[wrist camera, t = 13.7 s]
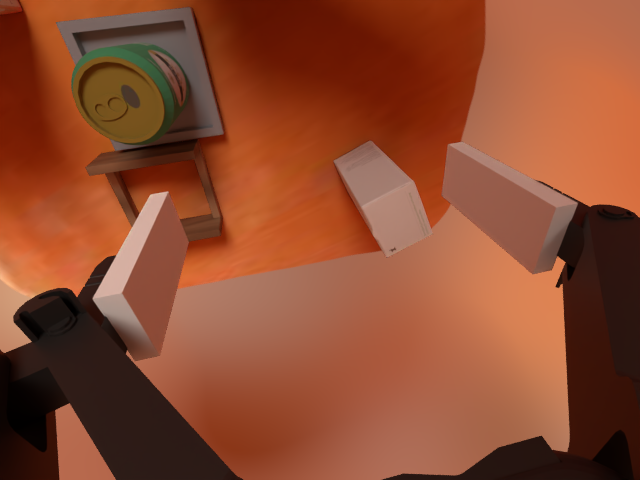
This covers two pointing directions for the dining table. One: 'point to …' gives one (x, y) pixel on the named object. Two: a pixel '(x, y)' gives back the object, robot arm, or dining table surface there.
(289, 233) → the dining table surface
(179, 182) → the dining table surface
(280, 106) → the dining table surface
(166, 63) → the beverage can
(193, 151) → the caddy
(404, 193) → the skincare box
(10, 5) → the cracker box
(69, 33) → the tray
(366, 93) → the dining table surface
